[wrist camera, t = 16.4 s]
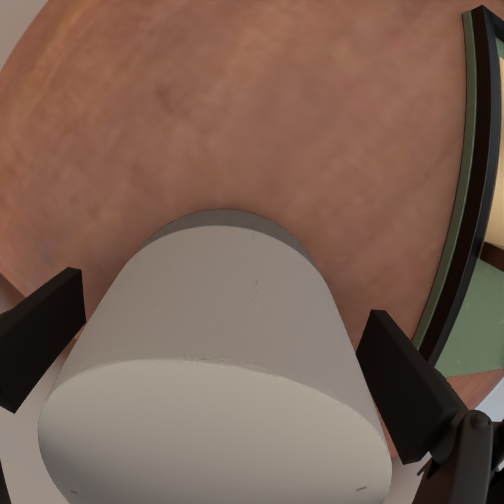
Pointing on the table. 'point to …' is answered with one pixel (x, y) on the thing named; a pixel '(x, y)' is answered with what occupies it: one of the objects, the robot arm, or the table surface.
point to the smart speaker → (215, 380)
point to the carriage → (496, 198)
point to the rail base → (470, 225)
